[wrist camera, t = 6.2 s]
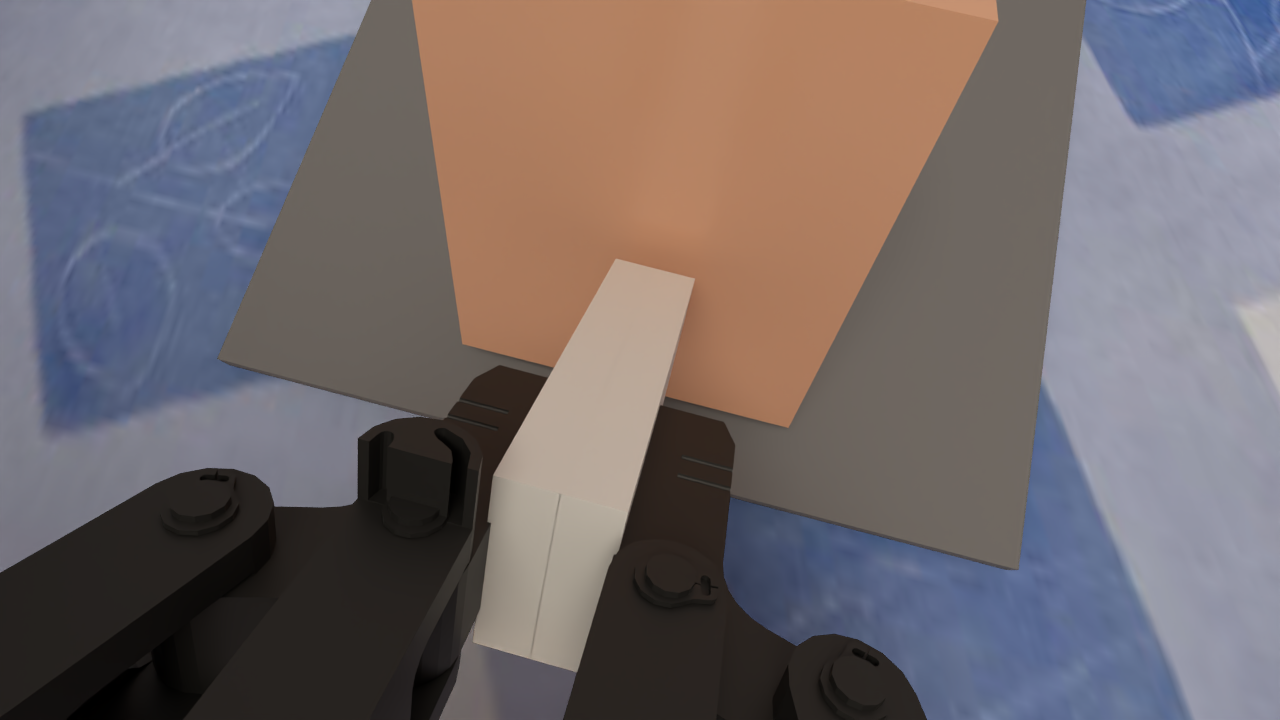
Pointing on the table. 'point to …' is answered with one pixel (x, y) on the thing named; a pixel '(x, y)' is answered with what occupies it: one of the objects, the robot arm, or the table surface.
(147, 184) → the table surface
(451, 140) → the tile
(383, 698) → the robot arm
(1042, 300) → the mat
